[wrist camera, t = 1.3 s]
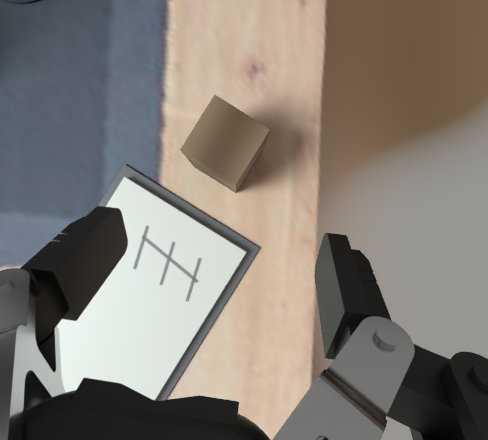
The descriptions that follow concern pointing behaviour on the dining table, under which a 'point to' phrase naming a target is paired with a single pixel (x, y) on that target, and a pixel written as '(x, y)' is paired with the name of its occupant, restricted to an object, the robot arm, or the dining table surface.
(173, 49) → the dining table surface
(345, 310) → the robot arm
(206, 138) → the block
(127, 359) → the board
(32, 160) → the dining table surface
